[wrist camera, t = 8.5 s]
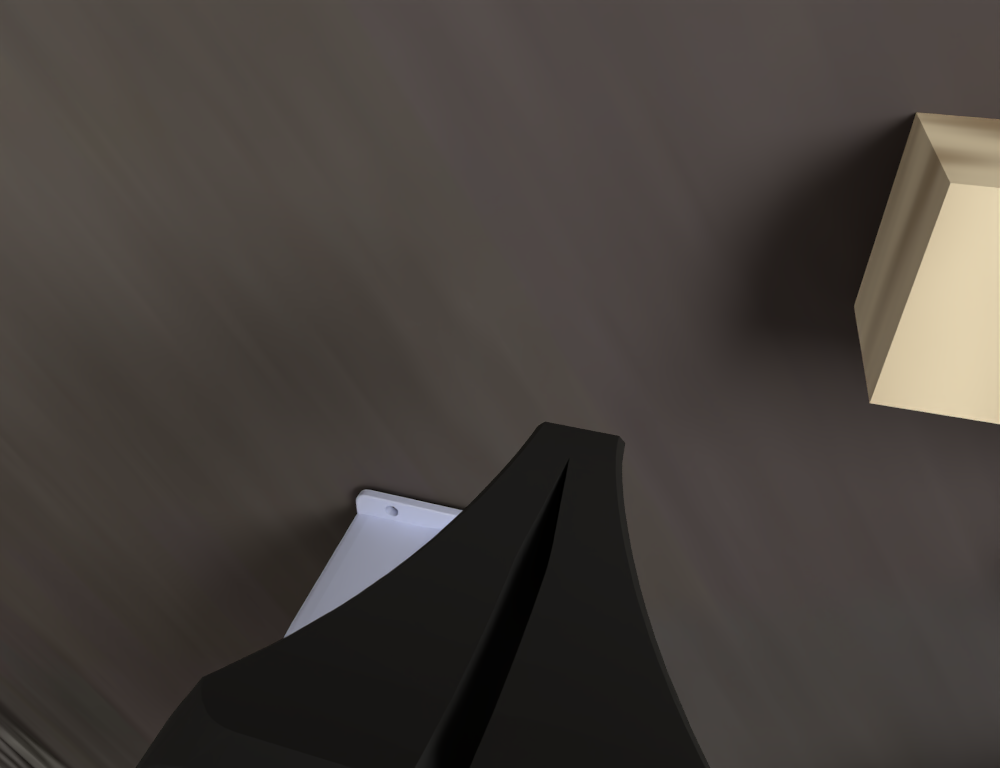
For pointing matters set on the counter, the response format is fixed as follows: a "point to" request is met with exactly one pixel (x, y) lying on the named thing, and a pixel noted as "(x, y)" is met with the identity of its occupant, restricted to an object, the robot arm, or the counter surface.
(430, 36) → the counter surface
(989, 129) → the block
